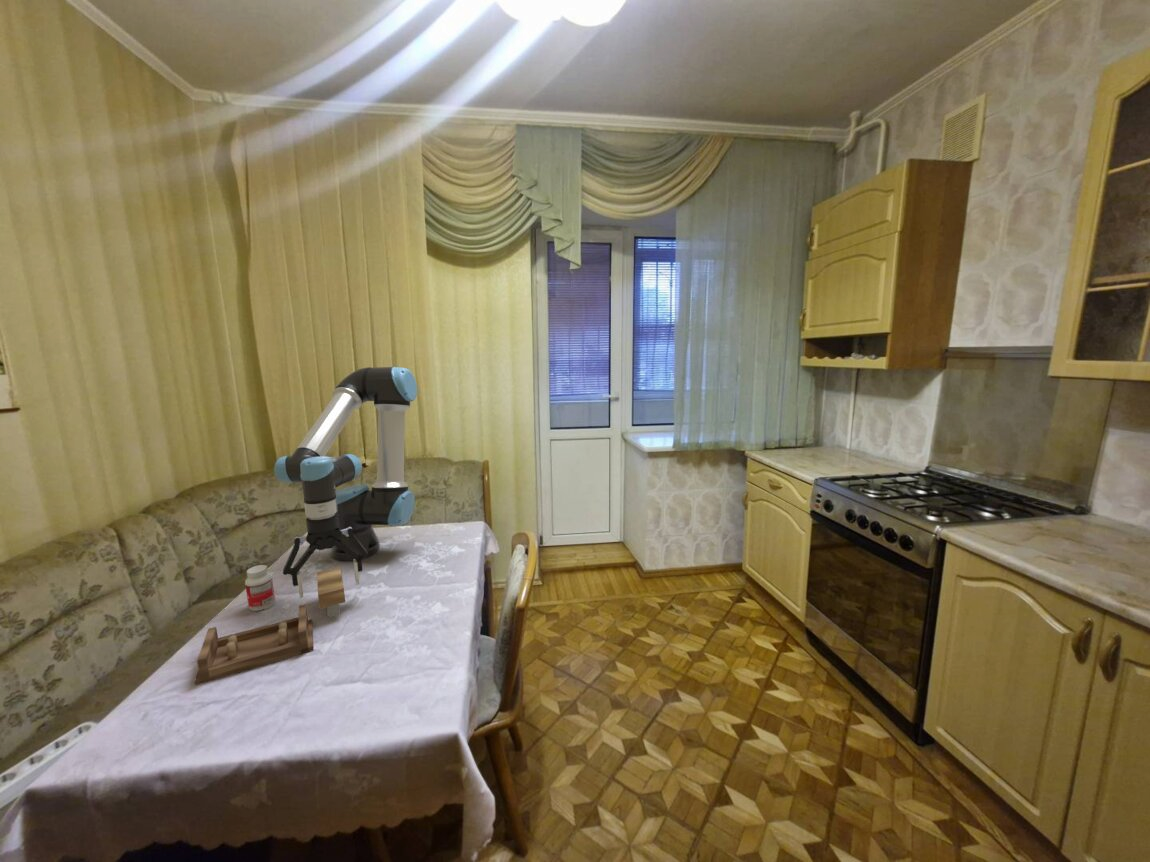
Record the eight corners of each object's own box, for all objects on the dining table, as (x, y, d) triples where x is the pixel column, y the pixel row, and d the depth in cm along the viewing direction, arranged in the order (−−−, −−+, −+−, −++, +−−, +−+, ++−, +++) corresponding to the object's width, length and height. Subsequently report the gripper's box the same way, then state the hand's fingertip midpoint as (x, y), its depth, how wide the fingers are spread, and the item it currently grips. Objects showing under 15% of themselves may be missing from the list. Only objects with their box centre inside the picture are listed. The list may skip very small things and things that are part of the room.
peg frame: (206, 650, 109) (202, 630, 108) (312, 622, 120) (310, 603, 119) (195, 685, 98) (191, 662, 97) (313, 650, 108) (310, 629, 107)
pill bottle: (254, 601, 130) (249, 565, 128) (278, 598, 131) (273, 562, 129) (245, 613, 124) (239, 575, 122) (270, 610, 125) (265, 572, 123)
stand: (326, 599, 130) (324, 586, 129) (337, 596, 132) (336, 584, 131) (328, 617, 122) (326, 603, 121) (339, 614, 123) (338, 600, 122)
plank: (318, 585, 130) (316, 572, 130) (341, 579, 133) (340, 566, 133) (319, 608, 118) (317, 594, 118) (345, 602, 121) (343, 588, 121)
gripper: (264, 529, 112) (275, 608, 116) (374, 510, 125) (380, 582, 128) (267, 519, 119) (276, 595, 122) (371, 503, 131) (377, 572, 135)
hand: (330, 589), depth 125 cm, fingers open, 13 cm apart
